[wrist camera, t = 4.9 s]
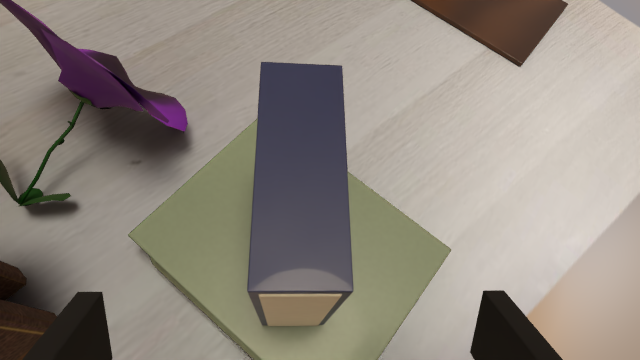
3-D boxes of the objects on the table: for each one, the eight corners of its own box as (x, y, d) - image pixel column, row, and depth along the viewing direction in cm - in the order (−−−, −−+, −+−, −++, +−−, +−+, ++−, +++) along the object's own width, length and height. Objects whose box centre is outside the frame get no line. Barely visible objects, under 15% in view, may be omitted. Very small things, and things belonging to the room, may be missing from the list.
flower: (148, 251, 35) (231, 121, 34) (-36, 289, 20) (102, 62, 19) (36, 159, 38) (110, 36, 37) (-197, 133, 23) (-84, -71, 22)
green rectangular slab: (439, 257, 32) (454, 246, 29) (324, 425, 26) (329, 431, 23) (269, 127, 36) (268, 107, 33) (137, 249, 30) (123, 238, 27)
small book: (321, 172, 31) (342, 65, 20) (324, 326, 26) (353, 294, 15) (268, 171, 30) (260, 61, 20) (261, 327, 26) (246, 294, 15)
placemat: (565, 7, 46) (568, 3, 45) (520, 66, 41) (522, 63, 41) (462, -51, 49) (463, -55, 48) (408, -2, 44) (410, -6, 44)
